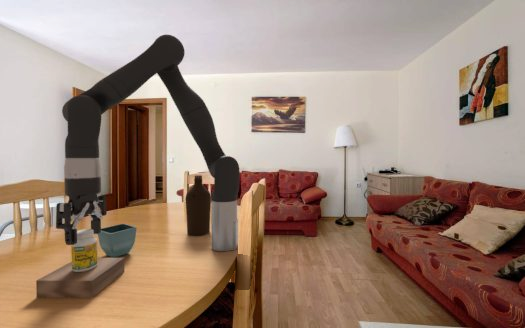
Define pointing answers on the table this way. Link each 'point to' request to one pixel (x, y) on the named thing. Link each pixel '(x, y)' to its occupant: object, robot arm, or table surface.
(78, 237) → the supplement bottle
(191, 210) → the olive oil
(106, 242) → the flower pot
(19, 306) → the table surface
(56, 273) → the walnut plinth
